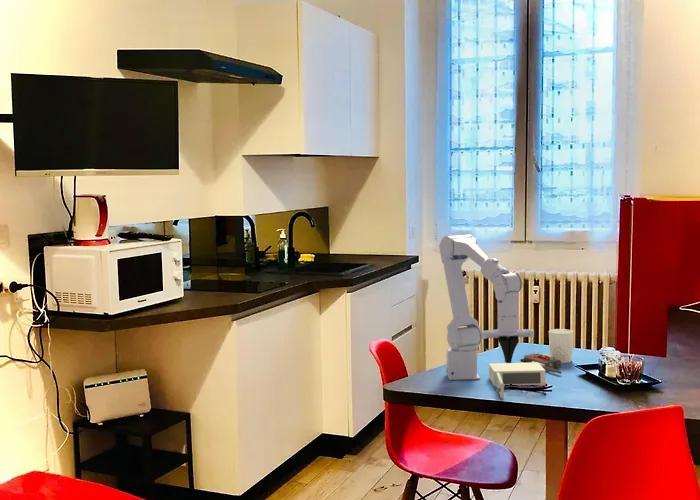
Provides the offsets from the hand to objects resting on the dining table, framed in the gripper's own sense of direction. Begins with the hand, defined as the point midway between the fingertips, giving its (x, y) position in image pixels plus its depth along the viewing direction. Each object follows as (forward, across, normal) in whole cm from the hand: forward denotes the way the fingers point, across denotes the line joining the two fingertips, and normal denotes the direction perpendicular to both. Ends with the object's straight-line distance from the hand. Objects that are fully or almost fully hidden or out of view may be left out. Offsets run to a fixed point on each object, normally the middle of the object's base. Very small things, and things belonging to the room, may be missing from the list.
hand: (508, 362), depth 217 cm
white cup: (+9, +25, +35) cm, 44 cm away
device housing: (+9, +5, +11) cm, 15 cm away
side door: (+8, -3, -1) cm, 9 cm away
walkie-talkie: (+9, +18, +26) cm, 33 cm away
